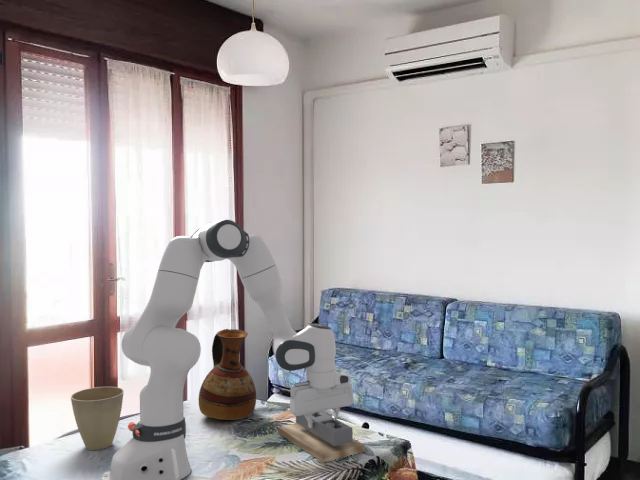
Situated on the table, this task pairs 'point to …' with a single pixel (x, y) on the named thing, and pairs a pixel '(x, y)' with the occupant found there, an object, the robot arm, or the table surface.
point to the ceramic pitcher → (227, 380)
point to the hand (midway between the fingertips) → (322, 425)
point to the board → (319, 443)
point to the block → (328, 428)
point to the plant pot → (97, 415)
